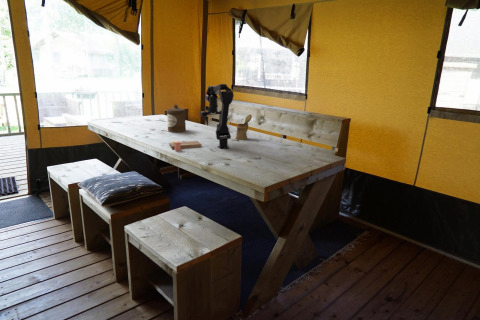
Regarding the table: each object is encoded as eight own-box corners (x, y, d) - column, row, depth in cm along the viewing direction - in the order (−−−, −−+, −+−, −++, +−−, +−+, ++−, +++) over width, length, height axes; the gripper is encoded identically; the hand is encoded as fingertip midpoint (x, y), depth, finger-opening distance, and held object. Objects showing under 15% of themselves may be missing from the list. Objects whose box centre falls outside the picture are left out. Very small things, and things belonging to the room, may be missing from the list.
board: (201, 146, 230) (201, 143, 230) (172, 149, 223) (172, 146, 223) (197, 143, 239) (197, 140, 239) (169, 145, 232) (169, 142, 232)
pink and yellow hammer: (180, 150, 221) (180, 142, 219) (175, 151, 219) (175, 142, 218) (177, 145, 232) (176, 138, 231) (171, 146, 231) (171, 138, 229)
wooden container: (164, 130, 282) (163, 104, 276) (179, 128, 292) (178, 102, 285) (173, 133, 272) (172, 106, 265) (189, 130, 281) (188, 104, 275)
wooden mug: (254, 138, 258) (254, 115, 253) (240, 140, 250) (240, 116, 245) (247, 136, 265) (247, 113, 260) (233, 138, 257) (233, 115, 252)
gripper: (221, 101, 249) (221, 122, 254) (197, 102, 242) (198, 123, 247) (227, 103, 240) (227, 125, 244) (202, 104, 233) (202, 126, 237)
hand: (213, 125), depth 243 cm, fingers open, 9 cm apart
